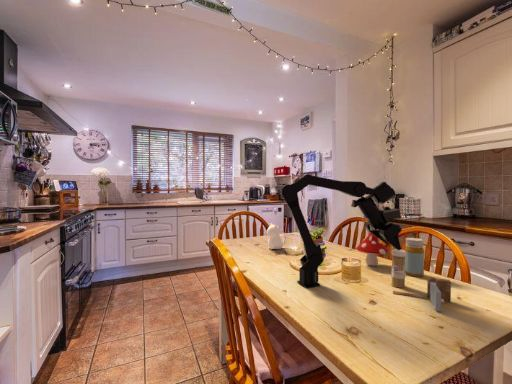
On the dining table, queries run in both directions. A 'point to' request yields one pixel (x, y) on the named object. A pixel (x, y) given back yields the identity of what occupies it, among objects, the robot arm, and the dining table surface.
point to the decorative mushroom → (372, 249)
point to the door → (435, 296)
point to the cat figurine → (275, 237)
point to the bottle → (414, 257)
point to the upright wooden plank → (442, 285)
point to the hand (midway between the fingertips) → (393, 246)
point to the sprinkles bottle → (398, 268)
